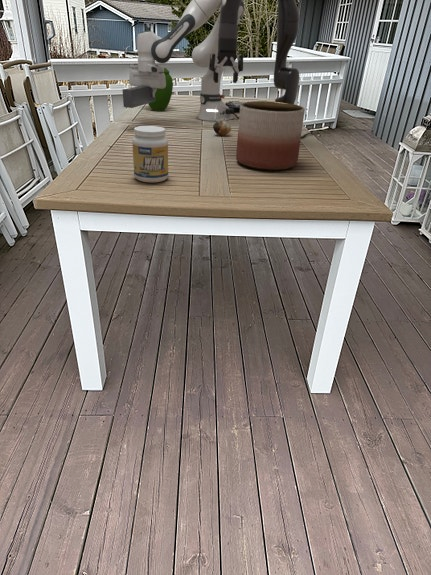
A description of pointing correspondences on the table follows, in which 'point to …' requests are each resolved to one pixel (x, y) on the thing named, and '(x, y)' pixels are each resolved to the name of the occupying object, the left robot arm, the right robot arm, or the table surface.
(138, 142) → the supplement tub
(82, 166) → the table surface
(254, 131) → the planter
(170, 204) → the table surface
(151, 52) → the left robot arm
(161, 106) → the vase
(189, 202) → the table surface
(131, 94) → the bar
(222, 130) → the seashell
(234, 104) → the sign
